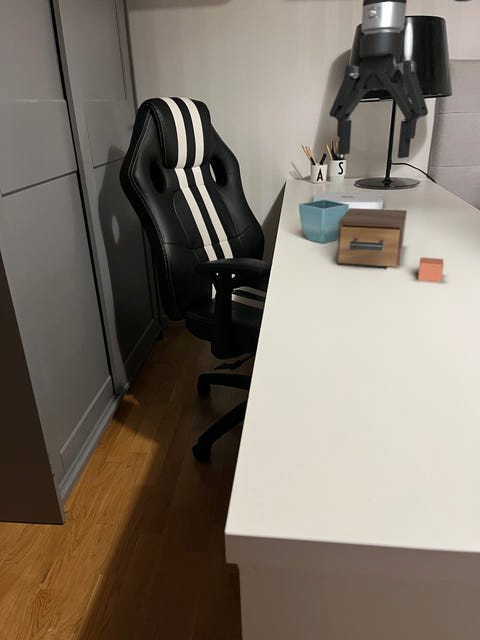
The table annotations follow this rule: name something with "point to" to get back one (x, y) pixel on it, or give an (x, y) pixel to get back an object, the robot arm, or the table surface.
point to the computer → (352, 198)
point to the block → (430, 269)
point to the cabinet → (375, 225)
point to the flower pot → (322, 219)
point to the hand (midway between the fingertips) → (372, 155)
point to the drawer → (369, 245)
